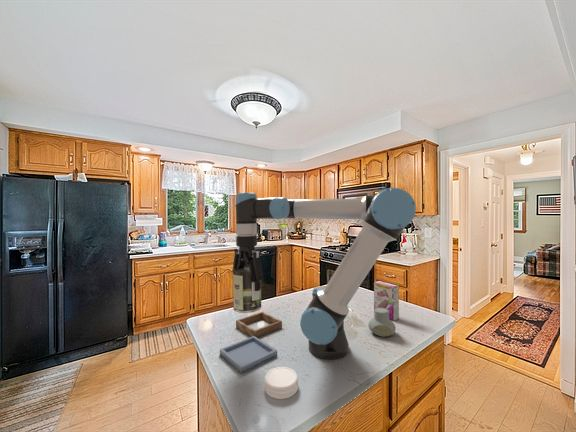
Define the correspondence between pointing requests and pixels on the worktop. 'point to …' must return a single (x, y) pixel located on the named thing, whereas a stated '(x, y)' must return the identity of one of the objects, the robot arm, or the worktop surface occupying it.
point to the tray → (248, 354)
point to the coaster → (281, 383)
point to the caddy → (259, 332)
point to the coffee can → (244, 291)
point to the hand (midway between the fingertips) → (247, 296)
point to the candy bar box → (387, 298)
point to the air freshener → (381, 323)
